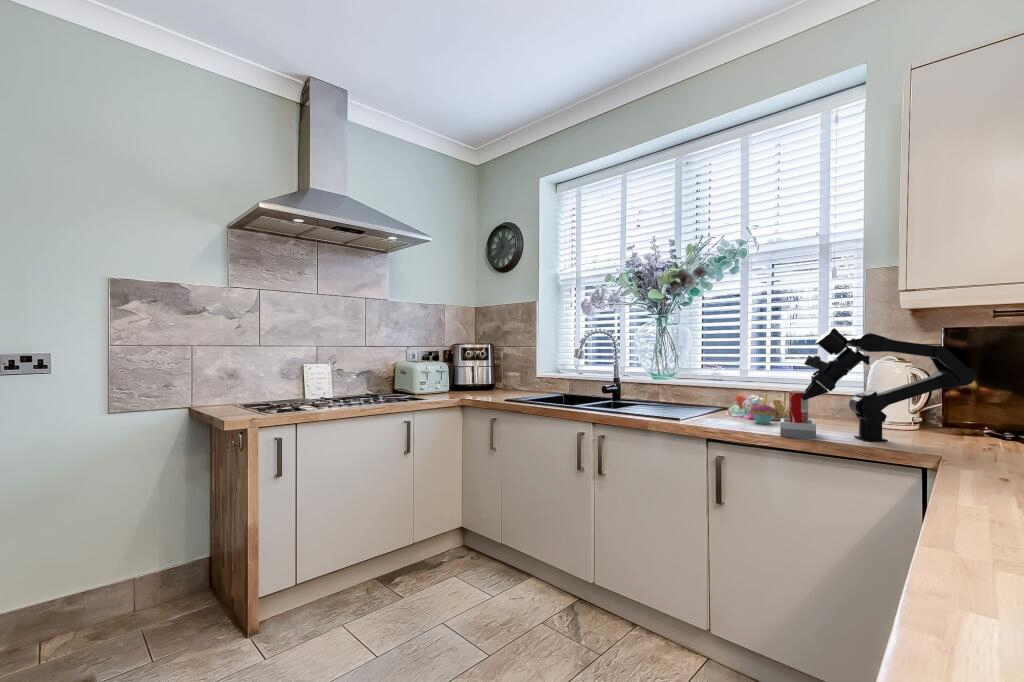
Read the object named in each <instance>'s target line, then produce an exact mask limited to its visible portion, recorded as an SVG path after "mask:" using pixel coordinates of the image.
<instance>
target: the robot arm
mask: <svg viewBox="0 0 1024 682" xmlns="http://www.w3.org/2000/svg"><path fill="white" fill-rule="evenodd" d="M815 343H816V344H817V346H819V347H820V348H822V349H823V350H824V351H826V352H827V353H828V354H829V355H833V354H835V357H834V358H833V359H832V360H827V361H824V360H821V356H819V355H814V356H811V355H808V356H807V357H806V358H805V359H806V360H805V361H804V363H803V365H805V366H807V367H812V368H814V369H816V370H815V371H814V372H813V373H812V375H811V382H810V383H809V384H808V385H807V387H806V388H805V389H804V391H806V393H805V394H804V395H803V397H802V399H803V400H807V399H808V400H809V399H812V398H816V397H818V396H821V395H824V394H828V393H829V392H832V391H833V390H835V388H836V384H837V383H838V382H839V381H840V380H841V379H842V378H843V377H844V376H847V375H848V373H849V372H850V371H853V369H854V368H855V367H857V366H858V365H859V364H860V363H861V362H862V363H863V364H865V365H867V366H868V365H870V364H871V363H870V357H871V356H870V355H867V354H866V355H864V354H863V353H862V352H865V353H883V352H884V353H885V352H886V353H887V352H888V353H895V354H904V355H911V356H918V357H923V358H929V359H930V360H931V361H932V364H933V365H934V368H935V369H936V371H935V372H933V373H932V374H931V375H929V376H928V377H925V378H922V379H919V380H915V381H912V382H909V383H905V384H903V385H900V386H897V387H894V388H891V389H888V390H885V391H882V392H877V391H875V390H871V389H867V390H865V391H863V392H860V393H855V394H854V396H853V397H851V398H850V400H849V404H848V405H849V409H850V411H852V412H853V413H854V414H855V417H856V418H858V435H854V436H853V437H854V438H855V439H859V440H862V441H865V442H888V439H886V438H884V437H883V423H884V422H885V421H886V420H887V417H888V415H886V414H885V412H883V410H884V409H885V408H887V407H889V406H890V405H893V404H896V403H900V402H902V401H906V400H908V399H912V398H915V397H918V396H921V395H924V394H927V393H930V392H933V391H937V390H940V389H941V390H942V389H951V388H959V387H966V386H969V385H971V384H973V383H974V381H975V378H976V375H975V374H976V373H975V371H974V370H973V369H972V368H971V367H968V366H966V365H965V364H964V362H962V361H961V360H960V359H959V358H958V357H956V356H955V355H954V354H952V352H951V351H950V350H949V349H948V348H947V347H946V346H945V345H933V344H932V345H931V344H925V343H918V342H909V341H902V340H894V339H891V338H888V337H885V336H883V335H880V334H877V333H876V334H875V333H860V334H857V335H856V336H855V337H854V338H848V337H847V338H846V337H845V336H844V335H843V334H841V333H840V332H839V331H838V329H836V328H834V327H833V328H831V329H829V330H828V331H826V332H825V333H824V334H821V335H820V336H819V337H818V339H816V341H815ZM851 347H853V348H855V349H854V350H853V349H851Z"/></svg>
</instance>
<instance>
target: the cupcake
mask: <svg viewBox="0 0 1024 682" xmlns="http://www.w3.org/2000/svg"><path fill="white" fill-rule="evenodd" d="M763 399H764V405H754V406H753V407H751V409H750V413H752V414H753V416H754V418H755V420H754V421H755V424H761V425H769V424H770V423H771V418H772V416H773V415H774V414H775V410H774V409H773V408H772V407H773V406H772V405H769V404H767V405H766V402H767V400H768V392H767V391H766V393H765V394H764V398H763Z"/></svg>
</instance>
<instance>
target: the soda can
mask: <svg viewBox="0 0 1024 682" xmlns="http://www.w3.org/2000/svg"><path fill="white" fill-rule="evenodd" d="M805 393H806V391H805V390H799V389H798V390H790V391H789V394H788V410H789V418H788V419H789V422H791V423H807V424H808V420H809V399H807V400H803V399H802V397H803V395H804V394H805Z"/></svg>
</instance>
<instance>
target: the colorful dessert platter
mask: <svg viewBox="0 0 1024 682" xmlns="http://www.w3.org/2000/svg"><path fill="white" fill-rule="evenodd" d="M764 399H765V398H763V397H759V395H755V394H751V395H749V397H748V398H747V397H746V396H744V394H742V393H738V394H736V395H735V396H734V402H736V404H735V405H731V407H729V409H728V410H727V412H725V416H727V417H731V418H742V419H746V420H754V421H755V418H754V416H753V414H752V413H750V409H751V407H753V406H754V405H764ZM772 402H773V404H772V405H771V407H772V408H773V409H774V410H775V414H774V415H773V416H772V418H771V420H774V421H775V420H777V421H778V420H779V421H781V418H786V419H789V408H786V406H785V405H784V404H785V401H784V400H783V399H780V398H776V399H775V398H774V399H773V400H772ZM766 405H768V402H767V401H766Z"/></svg>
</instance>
